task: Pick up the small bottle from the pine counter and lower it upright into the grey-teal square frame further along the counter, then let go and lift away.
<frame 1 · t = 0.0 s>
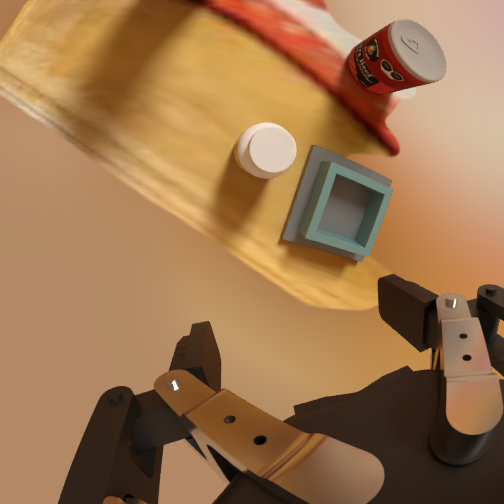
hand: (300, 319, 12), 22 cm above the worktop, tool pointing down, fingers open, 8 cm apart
supplement bottle: (256, 152, 31), on the worktop
canned food: (371, 70, 28), on the worktop
grey-teal square frame: (338, 205, 34), on the worktop
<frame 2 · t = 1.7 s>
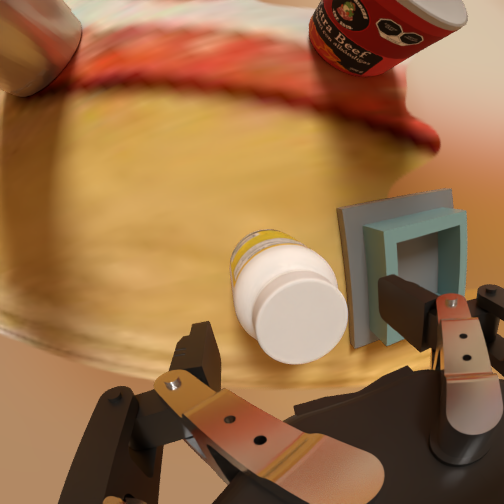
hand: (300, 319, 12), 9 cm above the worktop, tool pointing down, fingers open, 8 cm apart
supplement bottle: (266, 263, 20), on the worktop
canned food: (349, 43, 17), on the worktop
grey-teal square frame: (404, 264, 21), on the worktop
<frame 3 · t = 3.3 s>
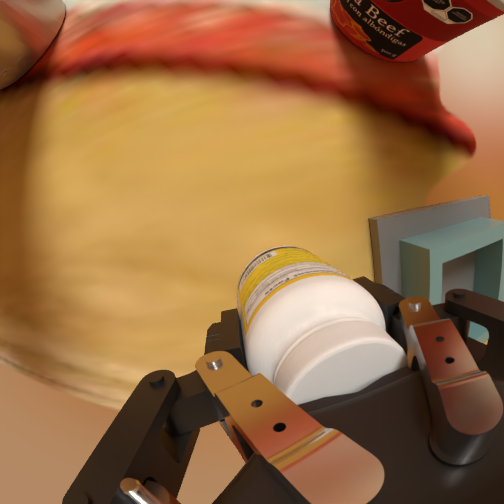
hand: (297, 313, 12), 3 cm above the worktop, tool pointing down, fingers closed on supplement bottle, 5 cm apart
supplement bottle: (282, 288, 16), on the worktop, touching gripper
canned food: (375, 25, 13), on the worktop
grey-teal square frame: (439, 283, 17), on the worktop
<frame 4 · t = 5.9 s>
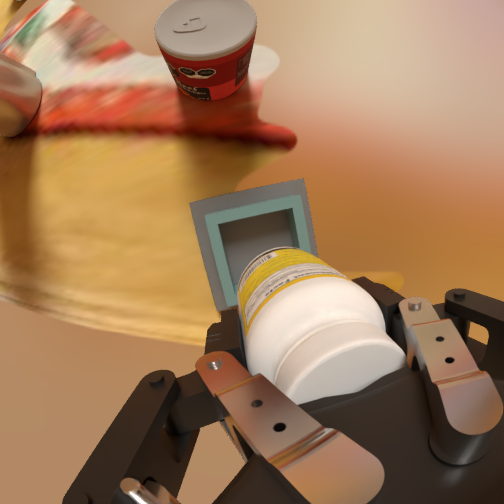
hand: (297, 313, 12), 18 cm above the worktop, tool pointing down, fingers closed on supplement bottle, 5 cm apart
supplement bottle: (282, 288, 16), point 14 cm above the worktop, touching gripper
canned food: (211, 74, 25), on the worktop
grey-teal square frame: (258, 244, 30), on the worktop
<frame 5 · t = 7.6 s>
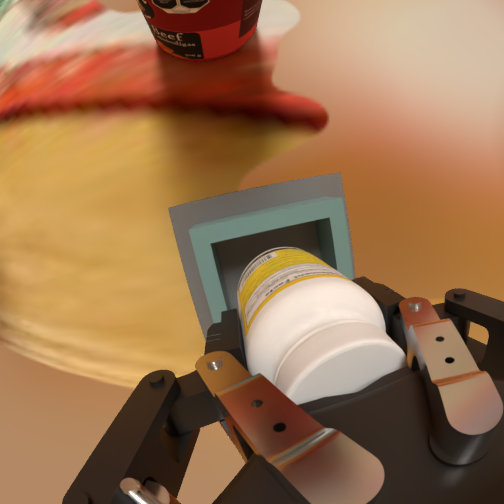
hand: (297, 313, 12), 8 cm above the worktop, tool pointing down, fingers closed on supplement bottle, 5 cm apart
supplement bottle: (282, 289, 16), point 4 cm above the worktop, touching gripper
canned food: (205, 29, 16), on the worktop
grey-teal square frame: (272, 269, 20), on the worktop
when the fingers open (6 cm above the worktop, at t = 8.8 s): supplement bottle drops 2 cm, resting on grey-teal square frame.
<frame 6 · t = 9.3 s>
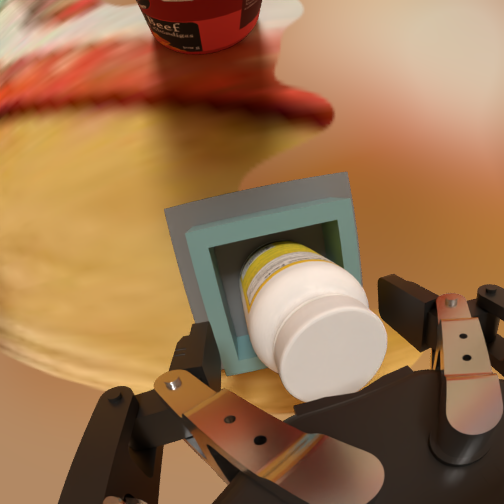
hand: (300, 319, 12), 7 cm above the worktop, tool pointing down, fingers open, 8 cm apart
supplement bottle: (280, 278, 18), point 1 cm above the worktop, touching grey-teal square frame
canned food: (204, 21, 15), on the worktop
grey-teal square frame: (274, 274, 19), on the worktop
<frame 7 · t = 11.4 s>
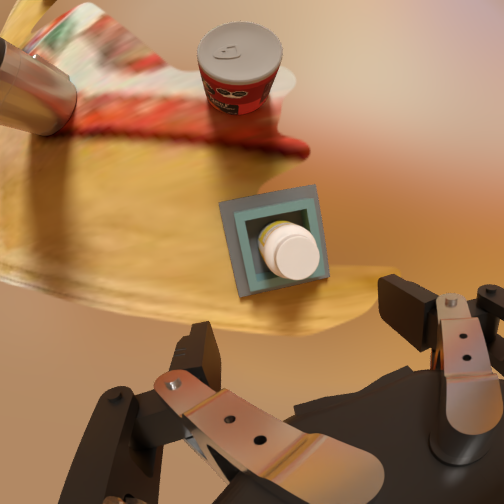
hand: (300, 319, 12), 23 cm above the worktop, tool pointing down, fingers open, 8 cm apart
supplement bottle: (279, 240, 34), point 1 cm above the worktop, touching grey-teal square frame
canned food: (237, 91, 31), on the worktop
grey-teal square frame: (276, 240, 34), on the worktop
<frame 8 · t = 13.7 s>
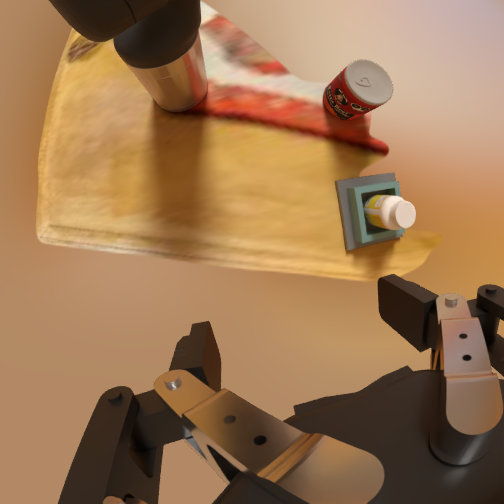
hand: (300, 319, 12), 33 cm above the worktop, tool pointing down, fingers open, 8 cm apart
supplement bottle: (373, 209, 44), point 1 cm above the worktop, touching grey-teal square frame
canned food: (342, 102, 41), on the worktop
grey-teal square frame: (370, 209, 45), on the worktop
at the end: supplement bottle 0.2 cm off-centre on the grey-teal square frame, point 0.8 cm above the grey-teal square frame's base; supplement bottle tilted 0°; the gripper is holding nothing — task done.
